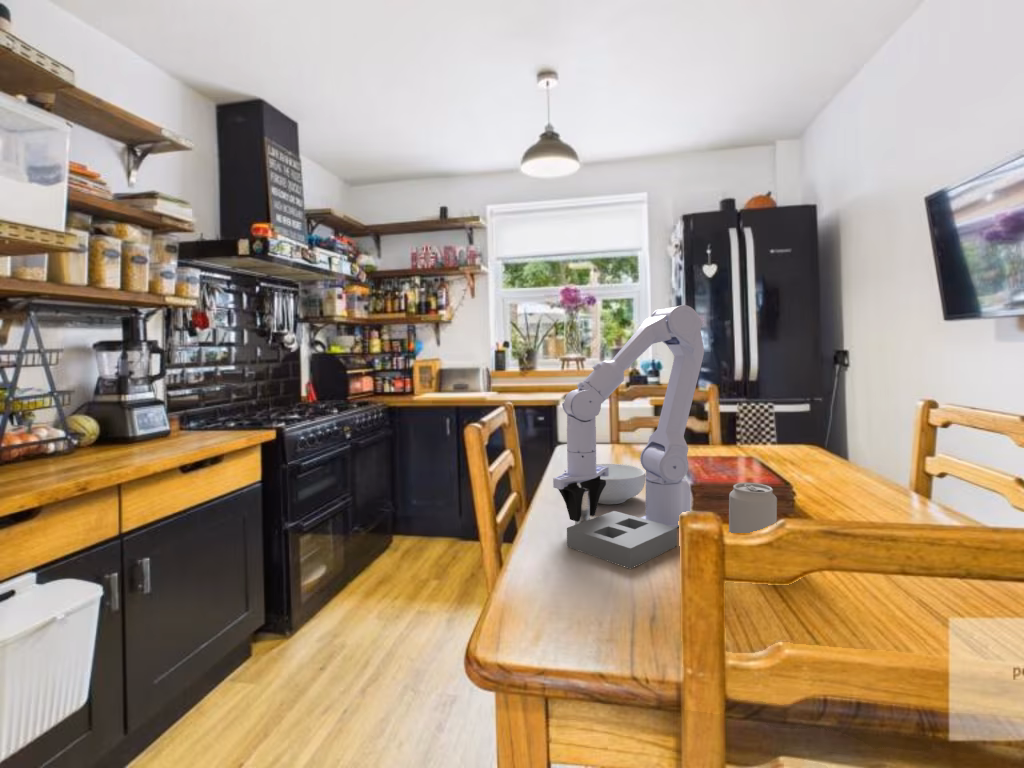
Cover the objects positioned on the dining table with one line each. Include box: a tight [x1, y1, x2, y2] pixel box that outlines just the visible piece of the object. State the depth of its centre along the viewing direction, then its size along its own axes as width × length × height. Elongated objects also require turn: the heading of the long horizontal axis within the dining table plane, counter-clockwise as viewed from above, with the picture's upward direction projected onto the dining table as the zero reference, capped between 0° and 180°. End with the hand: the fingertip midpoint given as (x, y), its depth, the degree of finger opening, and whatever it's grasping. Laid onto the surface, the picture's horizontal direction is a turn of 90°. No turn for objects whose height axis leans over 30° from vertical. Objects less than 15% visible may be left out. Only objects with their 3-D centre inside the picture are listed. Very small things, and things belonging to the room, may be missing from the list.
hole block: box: [566, 510, 678, 569], centre depth 97 cm, size 14×14×4 cm
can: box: [728, 482, 778, 533], centre depth 92 cm, size 8×8×12 cm
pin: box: [574, 488, 591, 525], centre depth 107 cm, size 3×3×8 cm
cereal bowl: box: [577, 463, 646, 505], centre depth 127 cm, size 17×17×7 cm
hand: (582, 517), depth 107 cm, fingers open, 4 cm apart
